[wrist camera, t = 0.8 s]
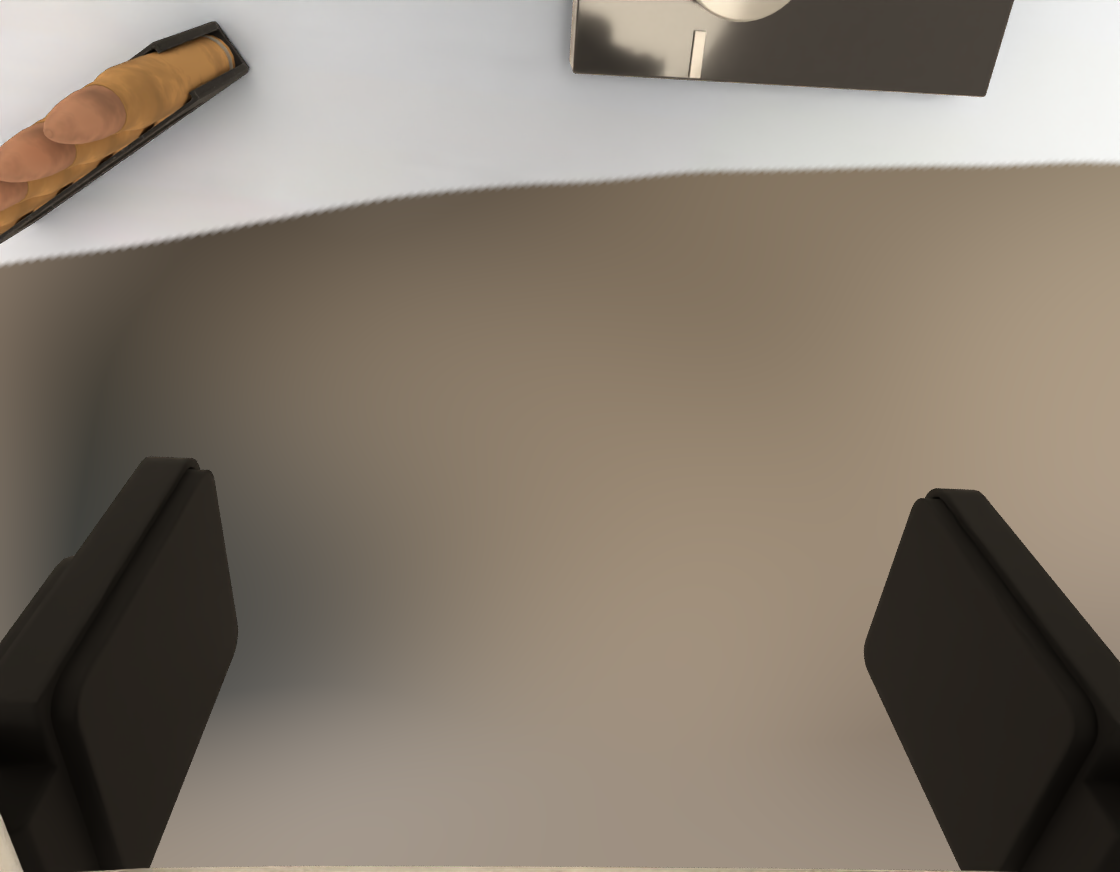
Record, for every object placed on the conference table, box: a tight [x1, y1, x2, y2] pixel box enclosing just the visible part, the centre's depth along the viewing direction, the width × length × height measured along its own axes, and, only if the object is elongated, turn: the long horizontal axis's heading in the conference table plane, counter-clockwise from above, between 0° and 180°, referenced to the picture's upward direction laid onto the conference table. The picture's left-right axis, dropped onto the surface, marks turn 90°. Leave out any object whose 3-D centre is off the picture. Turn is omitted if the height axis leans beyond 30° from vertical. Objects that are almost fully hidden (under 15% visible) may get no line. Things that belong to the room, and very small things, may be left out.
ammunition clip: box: [0, 22, 249, 244], centre depth 25 cm, size 11×2×12 cm, turn 120°
